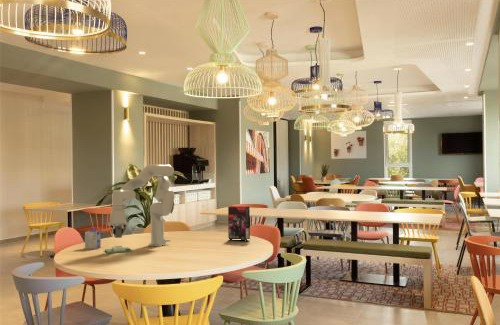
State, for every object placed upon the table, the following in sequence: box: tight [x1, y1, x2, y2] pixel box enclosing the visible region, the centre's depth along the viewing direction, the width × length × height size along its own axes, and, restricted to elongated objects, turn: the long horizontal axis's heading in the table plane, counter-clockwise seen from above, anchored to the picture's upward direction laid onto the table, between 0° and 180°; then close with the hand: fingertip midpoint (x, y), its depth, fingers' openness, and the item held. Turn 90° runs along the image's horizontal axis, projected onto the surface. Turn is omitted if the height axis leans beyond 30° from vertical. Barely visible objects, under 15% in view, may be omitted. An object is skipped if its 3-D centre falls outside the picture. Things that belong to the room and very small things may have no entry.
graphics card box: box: [227, 205, 251, 240], centre depth 356 cm, size 17×7×27 cm, turn 58°
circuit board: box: [104, 245, 133, 255], centre depth 310 cm, size 16×13×3 cm
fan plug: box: [113, 224, 123, 239], centre depth 308 cm, size 4×9×8 cm, turn 26°
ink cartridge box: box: [84, 227, 102, 250], centre depth 323 cm, size 10×6×14 cm, turn 78°
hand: (117, 234), depth 310 cm, fingers closed on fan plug, 4 cm apart
